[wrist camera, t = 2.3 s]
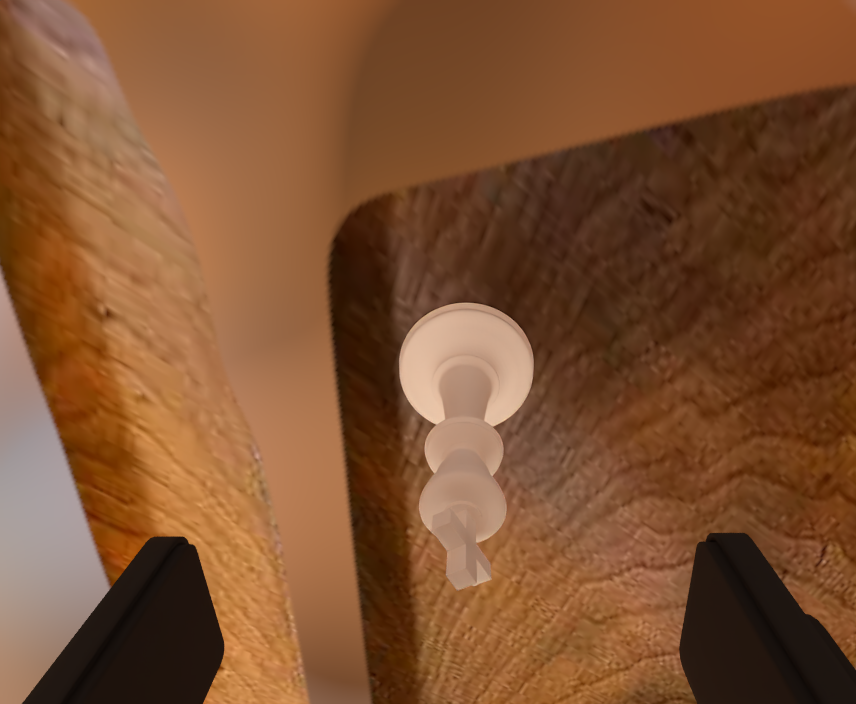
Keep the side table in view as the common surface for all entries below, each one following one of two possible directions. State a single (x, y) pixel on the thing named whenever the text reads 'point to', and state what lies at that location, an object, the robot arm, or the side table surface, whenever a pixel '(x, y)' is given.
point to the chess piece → (465, 422)
